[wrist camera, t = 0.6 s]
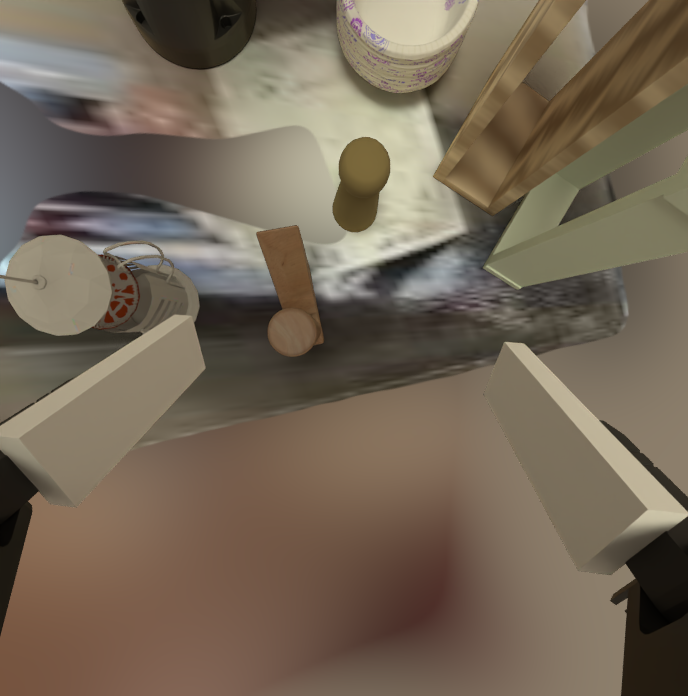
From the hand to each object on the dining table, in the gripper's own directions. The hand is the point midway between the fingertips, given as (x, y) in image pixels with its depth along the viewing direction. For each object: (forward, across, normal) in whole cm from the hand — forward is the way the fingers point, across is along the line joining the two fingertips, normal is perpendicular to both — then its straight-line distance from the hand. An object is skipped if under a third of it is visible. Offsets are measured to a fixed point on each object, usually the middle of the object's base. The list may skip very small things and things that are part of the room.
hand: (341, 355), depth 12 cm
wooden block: (+24, -7, -8) cm, 27 cm away
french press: (+22, -25, -8) cm, 34 cm away
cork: (+31, -2, +4) cm, 31 cm away
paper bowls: (+41, +2, +22) cm, 46 cm away
